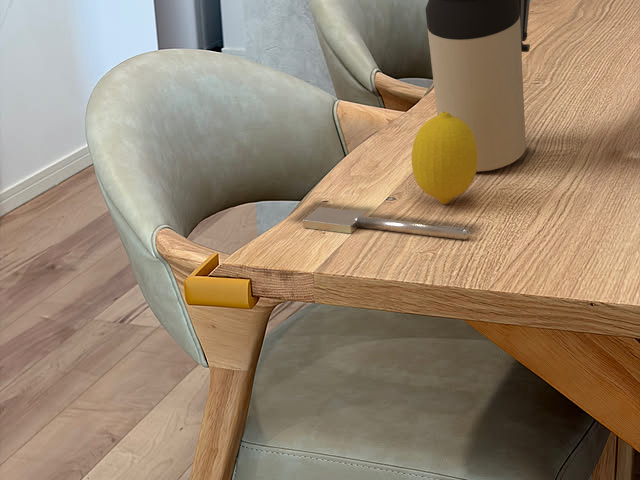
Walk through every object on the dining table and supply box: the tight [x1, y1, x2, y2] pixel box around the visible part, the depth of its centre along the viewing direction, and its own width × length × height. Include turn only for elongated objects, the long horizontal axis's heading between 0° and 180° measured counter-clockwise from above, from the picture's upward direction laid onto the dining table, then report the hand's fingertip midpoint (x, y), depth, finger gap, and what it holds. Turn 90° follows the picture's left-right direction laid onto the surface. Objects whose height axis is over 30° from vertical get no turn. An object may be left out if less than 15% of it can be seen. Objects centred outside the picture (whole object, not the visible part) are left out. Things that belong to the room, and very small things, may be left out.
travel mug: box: [425, 0, 527, 173], centre depth 82 cm, size 8×8×18 cm
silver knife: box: [302, 206, 471, 241], centre depth 74 cm, size 14×3×1 cm, turn 64°
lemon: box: [411, 112, 478, 205], centre depth 76 cm, size 6×6×8 cm
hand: (503, 120), depth 91 cm, fingers closed
